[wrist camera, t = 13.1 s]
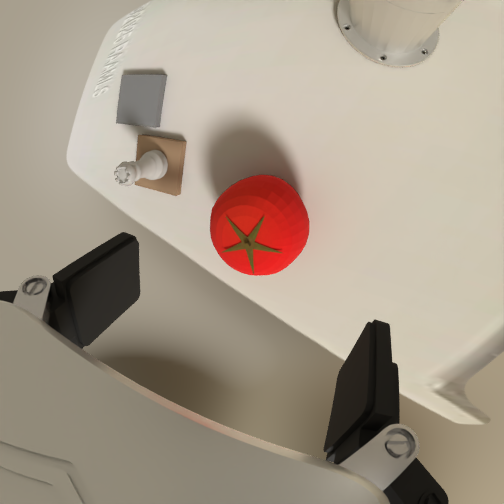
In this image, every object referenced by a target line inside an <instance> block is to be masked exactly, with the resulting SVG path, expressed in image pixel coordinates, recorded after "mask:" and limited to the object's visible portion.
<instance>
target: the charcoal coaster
mask: <svg viewBox="0 0 504 504" xmlns="http://www.w3.org/2000/svg"><path fill="white" fill-rule="evenodd" d="M166 79H167V75H122V79H121V85H120V93H119V101H118V110H117V120H116V123H120V124H129V125H138V126H146V127H154V128H156V127H160V119H161V112H162V104H163V98H164V91H165V85H166Z"/></svg>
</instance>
